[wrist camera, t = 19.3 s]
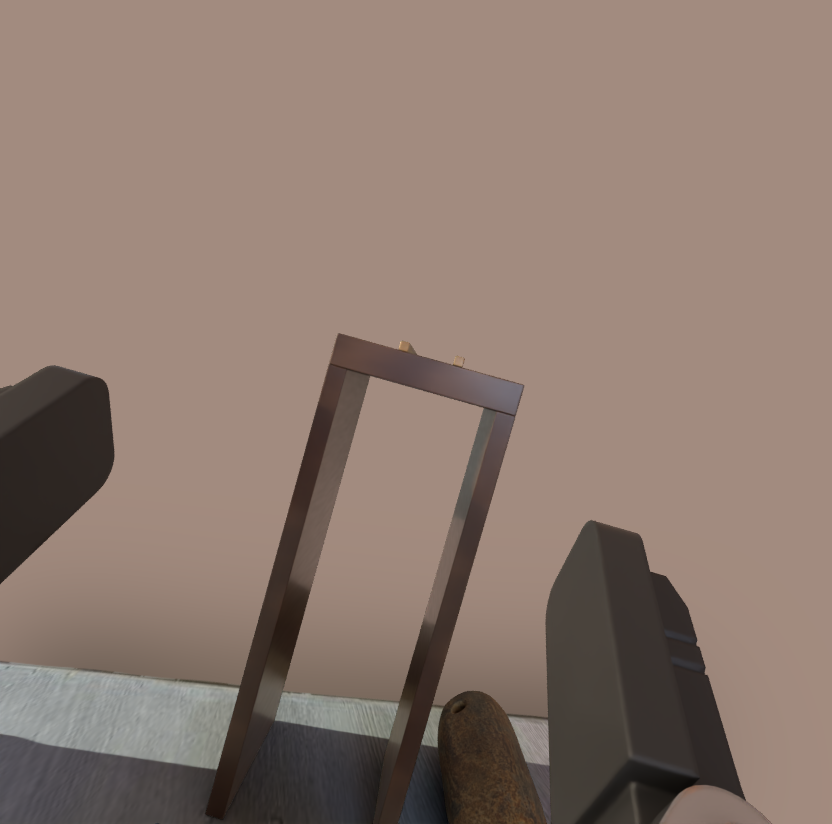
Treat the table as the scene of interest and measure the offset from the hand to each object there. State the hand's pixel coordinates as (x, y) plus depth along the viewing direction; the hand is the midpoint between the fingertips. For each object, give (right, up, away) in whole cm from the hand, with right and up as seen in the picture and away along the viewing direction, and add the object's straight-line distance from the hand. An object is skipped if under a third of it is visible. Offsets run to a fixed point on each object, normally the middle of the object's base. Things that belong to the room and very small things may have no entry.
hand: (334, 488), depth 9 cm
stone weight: (+6, -30, +33) cm, 45 cm away
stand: (-6, -26, +32) cm, 42 cm away
